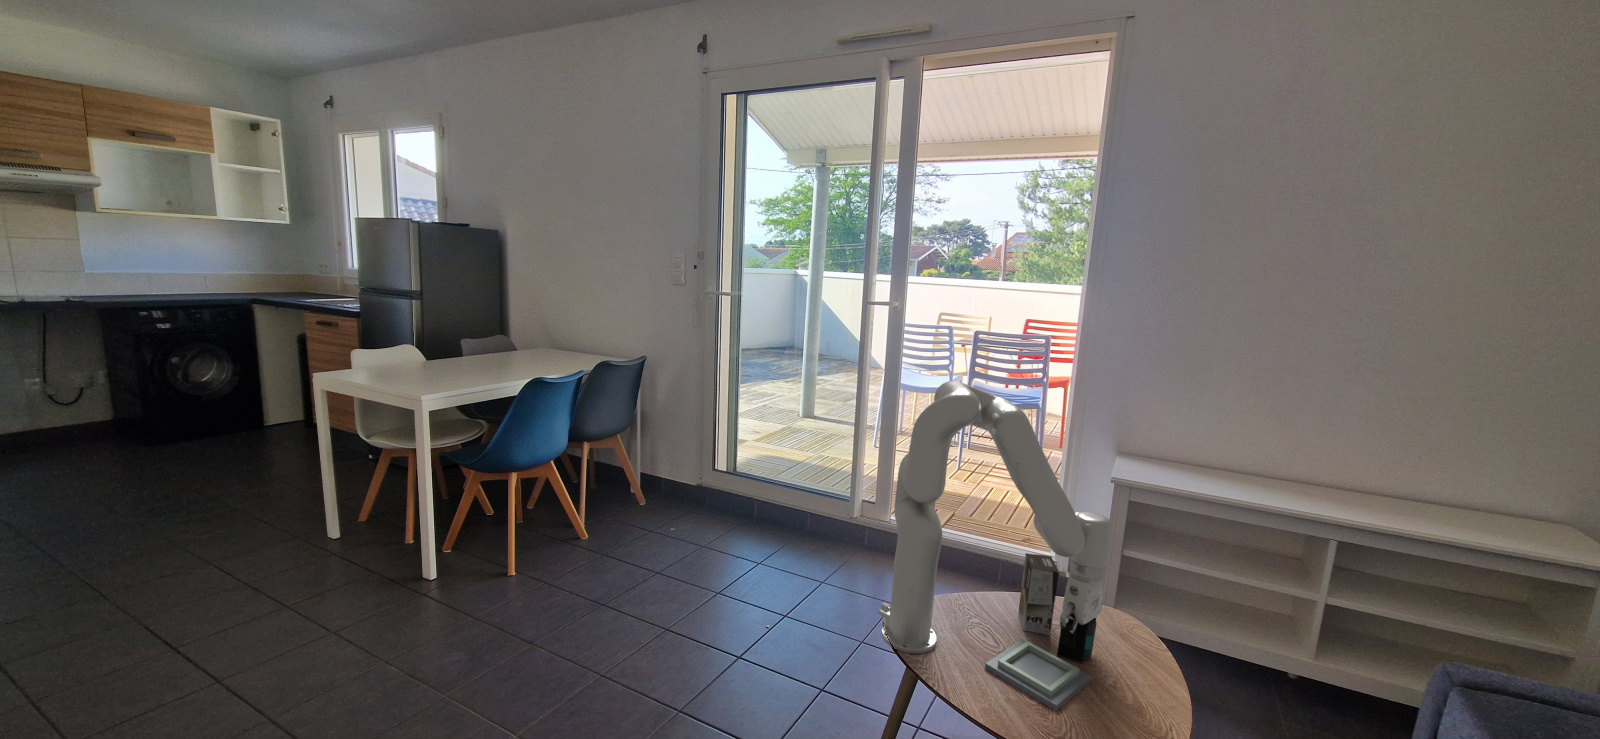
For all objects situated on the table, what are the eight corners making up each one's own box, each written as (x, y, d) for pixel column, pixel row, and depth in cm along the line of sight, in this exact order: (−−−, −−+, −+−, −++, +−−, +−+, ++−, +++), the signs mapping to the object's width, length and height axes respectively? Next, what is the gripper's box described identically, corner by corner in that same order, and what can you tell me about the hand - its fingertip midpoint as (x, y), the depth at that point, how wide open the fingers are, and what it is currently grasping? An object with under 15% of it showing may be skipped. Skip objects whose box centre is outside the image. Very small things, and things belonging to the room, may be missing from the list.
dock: (984, 668, 133) (986, 658, 132) (1021, 644, 142) (1022, 634, 142) (1055, 710, 121) (1057, 699, 120) (1090, 681, 130) (1092, 671, 130)
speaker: (1081, 668, 134) (1087, 621, 134) (1056, 656, 139) (1061, 611, 138) (1095, 658, 140) (1101, 614, 139) (1070, 647, 144) (1076, 604, 143)
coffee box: (1051, 635, 147) (1060, 572, 144) (1023, 631, 148) (1031, 568, 145) (1044, 615, 155) (1052, 555, 153) (1017, 611, 157) (1025, 551, 154)
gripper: (1085, 586, 128) (1074, 661, 131) (1120, 564, 140) (1110, 633, 142) (1051, 572, 134) (1041, 644, 137) (1087, 552, 145) (1078, 618, 148)
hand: (1076, 638), depth 140 cm, fingers open, 9 cm apart
